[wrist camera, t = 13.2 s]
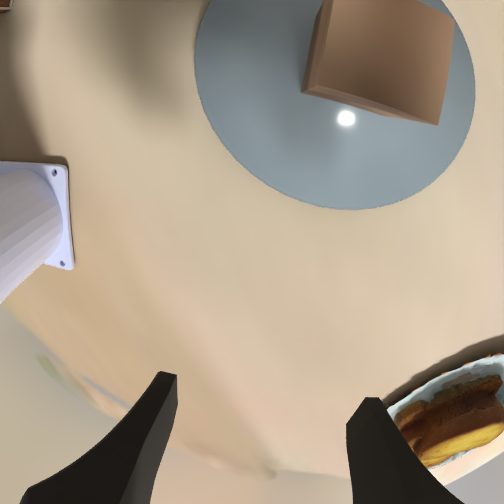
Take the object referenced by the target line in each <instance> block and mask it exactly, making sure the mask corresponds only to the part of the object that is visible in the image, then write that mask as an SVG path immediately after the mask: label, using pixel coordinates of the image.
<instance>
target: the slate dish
mask: <svg viewBox="0 0 504 504" xmlns="http://www.w3.org/2000/svg"><path fill="white" fill-rule="evenodd" d="M323 1H324V0H212V1H211V2H210V4H209V5H208V8H207V10H206V12H205V14H204V16H203V18H202V21H201V24H200V27H199V31H198V35H197V38H196V46H195V55H194V62H195V78H196V83H197V89H198V94H199V97H200V100H201V103H202V106H203V109H204V112H205V114H206V116H207V118H208V120H209V122H210V124H211V126H212V128H213V130H214V131H215V133H216V134H217V136H218V137H219V139H220V140H221V142H222V144H223V145H224V146H225V147H226V149H227V150H228V151H229V152H230V153H231V154H232V156H233V157H234V158H235V159H236V160H237V161H238V162H239V163H240V164H241V165H242V166H243V167H244V168H246V169H247V170H248V171H249V172H250V173H251V174H252V175H254V176H255V177H257V178H258V179H259V180H261V181H262V182H264V183H265V184H266V185H268V186H270V187H272V188H273V189H275V190H277V191H279V192H281V193H282V194H284V195H287V196H289V197H292V198H294V199H297V200H299V201H301V202H305V203H309V204H312V205H316V206H319V207H326V208H332V209H341V210H361V209H371V208H377V207H381V206H386V205H390V204H393V203H396V202H398V201H401V200H404V199H406V198H408V197H410V196H412V195H414V194H416V193H418V192H419V191H421V190H423V189H424V188H425V187H427V186H428V185H429V184H431V183H432V182H434V181H435V180H436V179H437V178H438V177H439V176H440V175H441V174H442V173H443V172H444V171H445V170H446V169H447V168H448V166H449V165H450V164H451V163H452V161H453V160H454V159H455V157H456V156H457V154H458V152H459V151H460V149H461V147H462V145H463V143H464V141H465V139H466V136H467V134H468V131H469V128H470V125H471V121H472V117H473V112H474V105H475V76H474V69H473V63H472V59H471V56H470V52H469V49H468V46H467V43H466V41H465V38H464V36H463V33H462V31H461V30H460V28H459V26H458V24H457V22H456V20H455V22H454V33H453V43H452V51H451V59H450V66H449V73H448V79H447V85H446V90H445V96H444V101H443V106H442V111H441V115H440V120H439V124H438V126H437V125H432V124H427V123H422V122H417V121H411V120H405V119H399V118H393V117H387V116H382V115H379V114H376V113H373V112H369V111H366V110H363V109H360V108H356V107H353V106H350V105H346V104H343V103H339V102H335V101H331V100H328V99H324V98H320V97H316V96H311V95H307V94H303V93H301V89H302V84H303V79H304V74H305V69H306V64H307V59H308V54H309V49H310V44H311V39H312V33H313V28H314V23H315V18H316V15H317V13H318V11H319V9H320V7H321V5H322V3H323ZM417 1H420V2H422V3H424V4H426V5H428V6H430V7H432V8H434V9H436V10H438V11H440V12H442V13H444V14H446V15H447V16H449V17H451V18H453V19H454V17H453V16H452V14H451V13H450V11H449V10H448V8H447V7H446V6H445V4H444V3H443V2H442V1H441V0H417Z"/></svg>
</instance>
